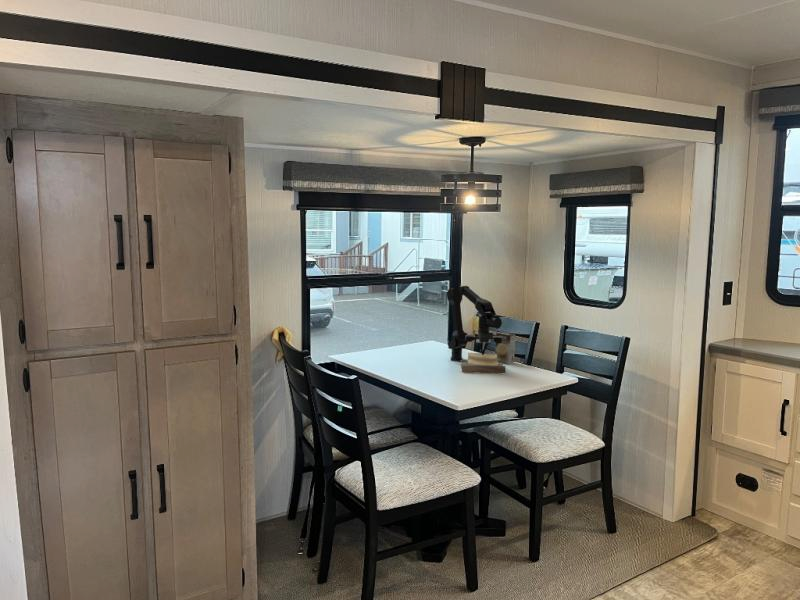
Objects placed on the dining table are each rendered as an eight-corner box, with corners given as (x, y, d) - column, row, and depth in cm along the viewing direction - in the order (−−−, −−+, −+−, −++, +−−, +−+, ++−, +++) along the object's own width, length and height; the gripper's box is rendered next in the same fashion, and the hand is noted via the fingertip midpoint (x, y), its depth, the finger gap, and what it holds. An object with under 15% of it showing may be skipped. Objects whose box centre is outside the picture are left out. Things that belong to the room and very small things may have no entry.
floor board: (460, 364, 318) (461, 358, 317) (502, 366, 316) (502, 360, 316) (461, 371, 303) (461, 365, 302) (505, 373, 301) (505, 367, 301)
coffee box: (493, 361, 326) (495, 333, 324) (499, 359, 331) (501, 331, 329) (508, 364, 321) (510, 335, 318) (514, 362, 325) (516, 333, 323)
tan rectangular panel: (467, 354, 315) (468, 352, 314) (496, 356, 314) (496, 353, 313) (468, 366, 306) (468, 364, 306) (497, 368, 305) (497, 365, 305)
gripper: (466, 327, 302) (465, 357, 304) (503, 329, 301) (502, 359, 303) (465, 323, 313) (464, 352, 315) (501, 325, 312) (499, 354, 314)
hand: (482, 354), depth 312 cm, fingers closed
